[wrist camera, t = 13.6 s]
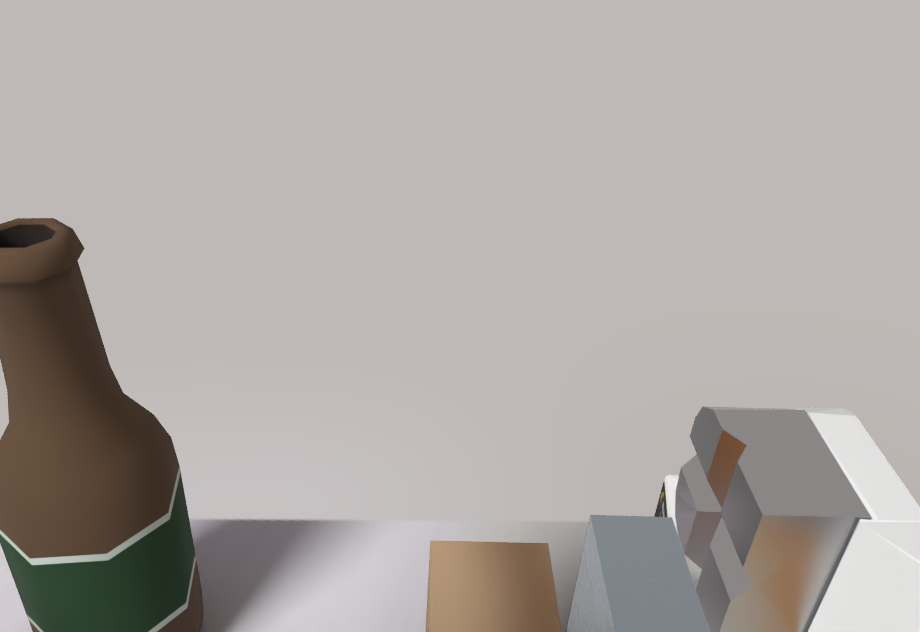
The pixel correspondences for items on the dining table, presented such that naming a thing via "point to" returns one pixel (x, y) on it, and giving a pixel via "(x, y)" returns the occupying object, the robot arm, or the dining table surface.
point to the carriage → (491, 588)
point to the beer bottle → (82, 460)
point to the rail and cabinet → (634, 579)
